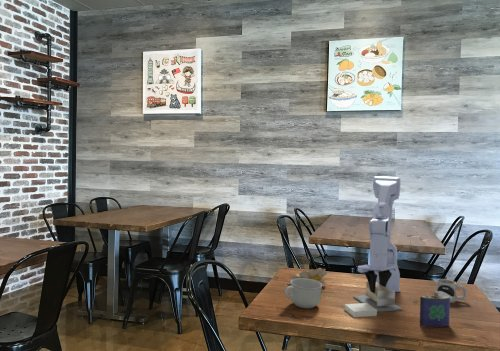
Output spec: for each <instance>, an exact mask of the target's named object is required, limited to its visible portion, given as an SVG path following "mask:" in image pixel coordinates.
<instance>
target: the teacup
mask: <svg viewBox="0 0 500 351" xmlns="http://www.w3.org/2000/svg"><path fill="white" fill-rule="evenodd" d="M322 287H323V284H322V283H320V282H318V281H316V280H312V279H305V278H298V279H291V280H290V285H288V286H286V288H285V290H284V296H285V297H286V299H288V300H289V301H291V302H292V303H293V304H294V305H295V306H297V307H298V308H300V309H301V308H302V309H313V308H314V307H316V306H318V305H319V303H320V301H321V300H322V298H321V297H322V289H323V288H322Z"/></svg>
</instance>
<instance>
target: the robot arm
mask: <svg viewBox="0 0 500 351" xmlns="http://www.w3.org/2000/svg"><path fill="white" fill-rule="evenodd" d="M372 181H373V182H372V183H373V184H372V190H373V193H374V196H375V199H378V200H377V202H378V203H376V204H375V205H374V206H373V212H372V217H371V219H370V220H369V222H368V223H369V224H368V233H369V241H370V242H369V244H370V245H369V263H368V264H362V265H357V272H359V273H363V274H364V276H365V277H366V279H367V281H368V283H369V287H370V291H371V292H372V293H375V287H376V283H378V284H380V285H382V286H384V287H385V288H387V289H389V290H395V293H397V292H401V290H400V285H401V284H400V283H401V282H400V280H401V276H400V275H401V273H400V270H399V266H398V248H397V246H396V245H395V244H394V243H392V242H391V238H392V237H391V235H392V234H391V232H392V219H393V217H392V216H393V205H394V203H395V201H396V200H398V199H400V193H401V178H400V176H378V175H375V176H374V177H373V180H372Z"/></svg>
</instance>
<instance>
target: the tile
mask: <svg viewBox="0 0 500 351" xmlns="http://www.w3.org/2000/svg"><path fill="white" fill-rule="evenodd" d="M344 311H346V312H347V313H349V315H351V316H352V317H353V318H361V317H377V316H378V312H377V310H376V309H375V308H373V307H372V306H370V305H369V304H367V303H361V302H359V303H345V304H344Z"/></svg>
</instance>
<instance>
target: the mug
mask: <svg viewBox="0 0 500 351" xmlns="http://www.w3.org/2000/svg"><path fill="white" fill-rule="evenodd" d="M457 289H458V290H459V289H461V290H462V291H463V294H462V296H459V295H457ZM435 291H438V295H439V296H448V297H450V304H453V303H456V301H461V300H462V301H465V300H466V298H467V294H468V293H467V288H466V286H463V285H460V284H457V282H456V281H455V280H451V279H445V278H440V279H436V283H435ZM439 293H440V294H439Z"/></svg>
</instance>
